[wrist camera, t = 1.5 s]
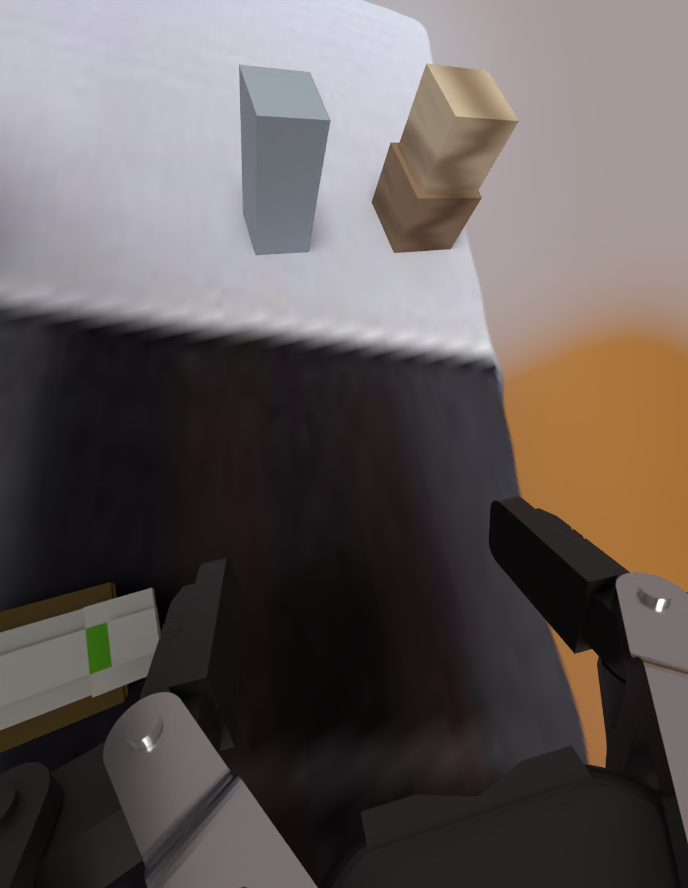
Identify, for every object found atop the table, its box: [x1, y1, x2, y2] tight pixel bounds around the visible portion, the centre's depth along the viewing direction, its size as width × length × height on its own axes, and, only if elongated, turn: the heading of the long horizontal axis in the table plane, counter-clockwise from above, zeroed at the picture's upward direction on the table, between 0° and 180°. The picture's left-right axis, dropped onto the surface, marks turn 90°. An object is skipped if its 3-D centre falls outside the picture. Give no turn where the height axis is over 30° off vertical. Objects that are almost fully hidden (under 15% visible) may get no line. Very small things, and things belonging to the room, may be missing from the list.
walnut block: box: [372, 143, 482, 253], centre depth 37 cm, size 7×7×6 cm
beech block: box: [398, 64, 518, 194], centre depth 31 cm, size 6×6×6 cm
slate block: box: [239, 65, 330, 255], centre depth 30 cm, size 5×5×11 cm
